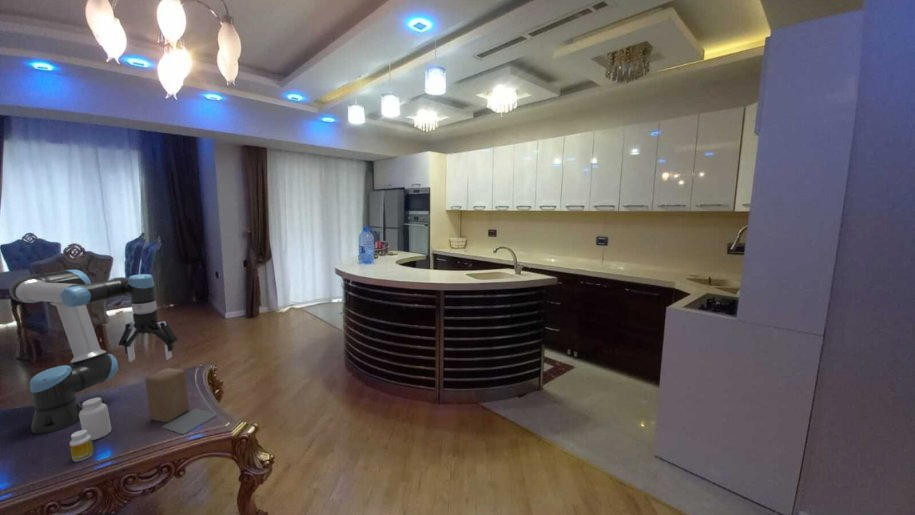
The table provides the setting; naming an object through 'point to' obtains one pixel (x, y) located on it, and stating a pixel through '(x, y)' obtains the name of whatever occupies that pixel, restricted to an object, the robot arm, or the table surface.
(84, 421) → the pill bottle
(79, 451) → the supplement bottle
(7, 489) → the table surface
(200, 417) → the mat
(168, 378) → the wooden block
